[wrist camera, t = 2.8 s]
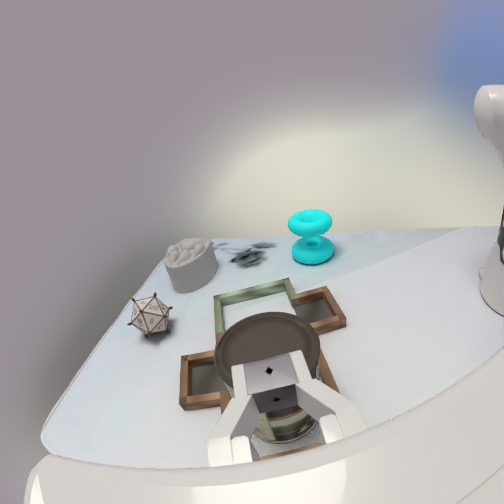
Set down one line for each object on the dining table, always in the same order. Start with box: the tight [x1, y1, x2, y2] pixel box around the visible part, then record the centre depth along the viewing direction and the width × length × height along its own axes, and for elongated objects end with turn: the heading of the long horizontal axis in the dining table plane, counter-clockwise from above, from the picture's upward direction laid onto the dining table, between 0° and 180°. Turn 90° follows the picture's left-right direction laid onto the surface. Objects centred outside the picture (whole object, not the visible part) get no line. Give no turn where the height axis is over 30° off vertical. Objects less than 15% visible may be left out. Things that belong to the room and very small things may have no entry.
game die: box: [127, 292, 173, 338], centre depth 48 cm, size 9×8×10 cm
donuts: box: [288, 210, 334, 264], centre depth 61 cm, size 10×10×10 cm
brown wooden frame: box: [179, 278, 346, 460], centre depth 39 cm, size 27×35×2 cm
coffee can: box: [214, 312, 320, 443], centre depth 28 cm, size 10×10×14 cm
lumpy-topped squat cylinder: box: [164, 237, 218, 293], centre depth 63 cm, size 10×13×9 cm
